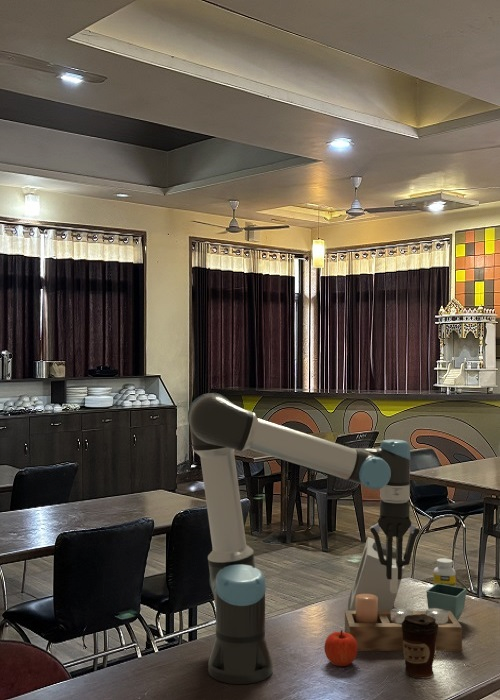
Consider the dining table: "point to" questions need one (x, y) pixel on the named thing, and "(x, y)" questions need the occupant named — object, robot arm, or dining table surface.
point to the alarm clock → (374, 578)
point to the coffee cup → (419, 645)
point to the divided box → (398, 633)
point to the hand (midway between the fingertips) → (393, 591)
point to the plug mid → (399, 614)
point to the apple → (341, 648)
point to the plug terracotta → (366, 608)
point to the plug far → (438, 615)
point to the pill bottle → (445, 572)
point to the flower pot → (447, 598)
